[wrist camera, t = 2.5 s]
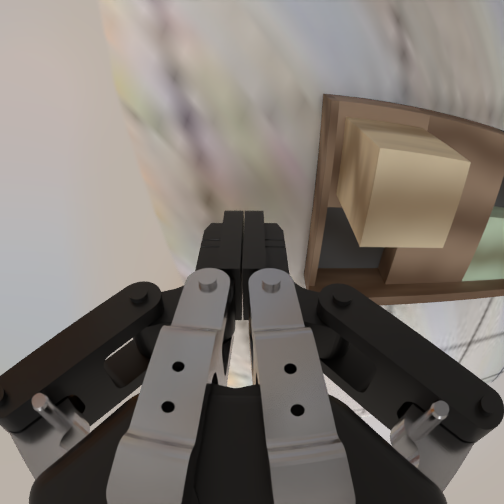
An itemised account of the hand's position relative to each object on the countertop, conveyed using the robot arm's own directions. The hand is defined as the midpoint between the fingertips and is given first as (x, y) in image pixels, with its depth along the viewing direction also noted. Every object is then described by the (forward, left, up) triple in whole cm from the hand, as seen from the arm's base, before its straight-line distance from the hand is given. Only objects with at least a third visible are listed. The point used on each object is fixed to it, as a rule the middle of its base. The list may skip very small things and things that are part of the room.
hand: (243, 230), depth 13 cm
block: (0, +9, -9) cm, 12 cm away
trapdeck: (+4, +17, -11) cm, 21 cm away
